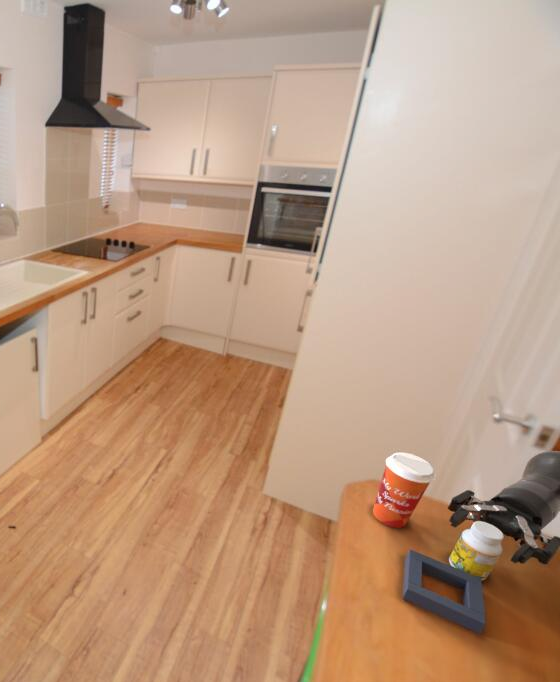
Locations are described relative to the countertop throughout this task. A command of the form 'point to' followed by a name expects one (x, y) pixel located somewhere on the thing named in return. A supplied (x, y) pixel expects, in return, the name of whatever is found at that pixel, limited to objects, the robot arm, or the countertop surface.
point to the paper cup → (402, 488)
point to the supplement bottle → (477, 549)
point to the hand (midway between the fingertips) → (483, 539)
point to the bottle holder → (463, 615)
